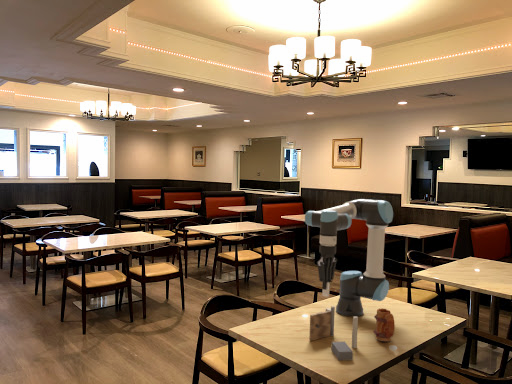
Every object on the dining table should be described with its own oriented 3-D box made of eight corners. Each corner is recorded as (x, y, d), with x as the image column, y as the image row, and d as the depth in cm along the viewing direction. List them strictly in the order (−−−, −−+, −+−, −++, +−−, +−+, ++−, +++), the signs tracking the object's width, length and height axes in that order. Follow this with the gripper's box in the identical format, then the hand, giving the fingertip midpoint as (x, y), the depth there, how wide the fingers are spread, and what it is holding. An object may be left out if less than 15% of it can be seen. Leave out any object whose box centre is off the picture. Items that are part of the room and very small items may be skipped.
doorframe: (324, 332, 205) (325, 304, 204) (327, 331, 206) (328, 304, 205) (353, 348, 188) (355, 317, 187) (356, 347, 189) (358, 317, 188)
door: (328, 334, 201) (329, 310, 201) (332, 336, 199) (333, 312, 198) (309, 339, 195) (310, 314, 194) (313, 341, 193) (313, 316, 192)
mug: (370, 335, 202) (372, 305, 201) (387, 335, 203) (388, 305, 202) (382, 349, 188) (384, 316, 187) (399, 348, 188) (401, 316, 187)
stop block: (331, 350, 185) (331, 341, 185) (344, 350, 186) (344, 341, 186) (338, 361, 175) (339, 351, 175) (352, 360, 176) (352, 351, 176)
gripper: (326, 247, 180) (323, 300, 181) (343, 244, 189) (340, 295, 190) (312, 244, 185) (310, 296, 186) (329, 242, 194) (327, 291, 195)
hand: (325, 296), depth 188 cm, fingers closed
